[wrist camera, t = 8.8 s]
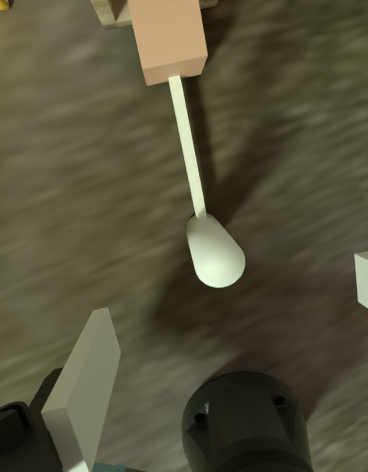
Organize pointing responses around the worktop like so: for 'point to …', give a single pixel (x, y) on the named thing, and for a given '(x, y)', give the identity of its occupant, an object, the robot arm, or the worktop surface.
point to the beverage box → (4, 5)
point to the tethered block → (185, 120)
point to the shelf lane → (125, 11)
